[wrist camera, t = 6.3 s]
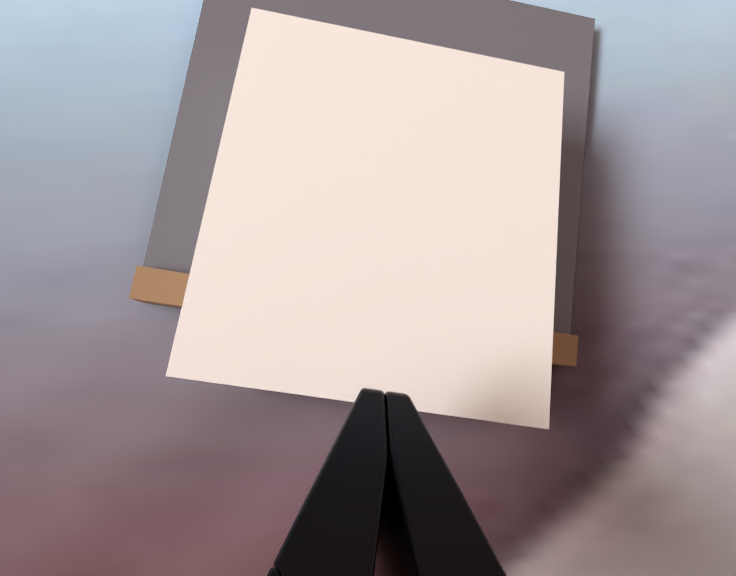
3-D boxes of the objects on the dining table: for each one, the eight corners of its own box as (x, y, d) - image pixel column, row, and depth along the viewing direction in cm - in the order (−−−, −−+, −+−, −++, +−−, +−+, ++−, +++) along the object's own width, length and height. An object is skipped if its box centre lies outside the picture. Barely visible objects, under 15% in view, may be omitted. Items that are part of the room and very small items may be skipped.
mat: (560, 366, 16) (576, 366, 15) (141, 302, 15) (129, 298, 14) (587, 27, 18) (602, 8, 17) (221, -52, 17) (214, -77, 16)
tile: (548, 429, 11) (564, 71, 14) (165, 375, 11) (251, 7, 13) (498, 422, 14) (517, 131, 17) (198, 379, 14) (263, 82, 16)
